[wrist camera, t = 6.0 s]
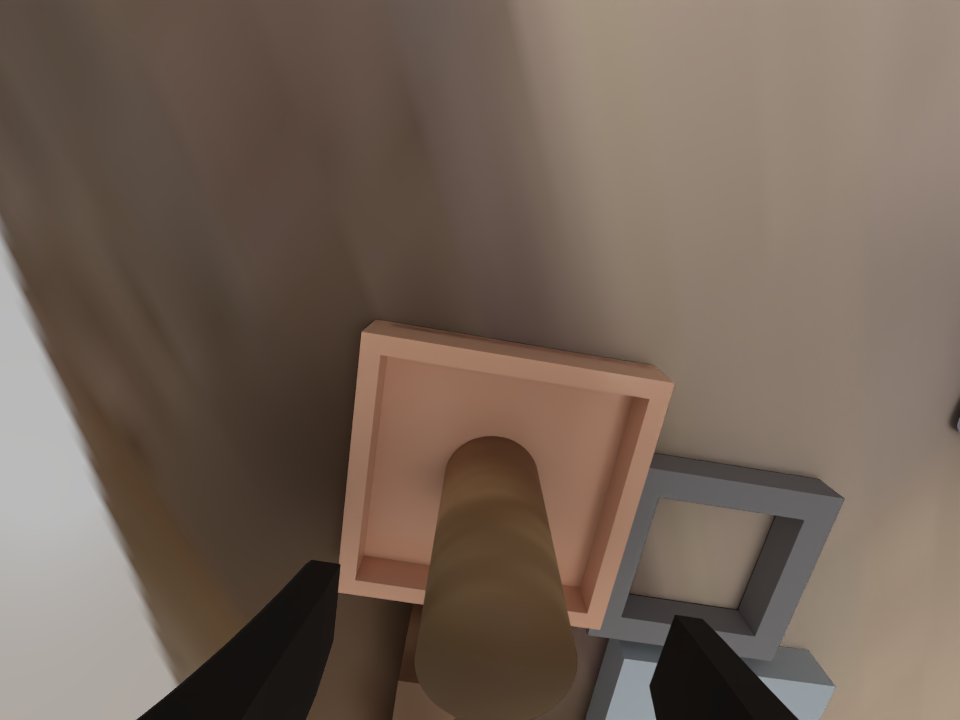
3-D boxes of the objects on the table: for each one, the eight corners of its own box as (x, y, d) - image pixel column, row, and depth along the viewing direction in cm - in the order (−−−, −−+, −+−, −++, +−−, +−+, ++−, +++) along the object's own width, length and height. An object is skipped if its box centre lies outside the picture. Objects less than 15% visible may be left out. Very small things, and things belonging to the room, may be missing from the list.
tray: (653, 365, 15) (675, 383, 14) (589, 590, 18) (600, 629, 16) (375, 319, 15) (361, 331, 13) (350, 555, 18) (336, 592, 16)
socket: (819, 479, 16) (844, 498, 15) (754, 634, 18) (772, 661, 17) (626, 449, 16) (637, 466, 15) (581, 609, 18) (587, 635, 17)
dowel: (553, 454, 16) (604, 628, 9) (517, 530, 16) (539, 742, 10) (463, 423, 15) (446, 577, 9) (431, 502, 16) (393, 699, 9)
